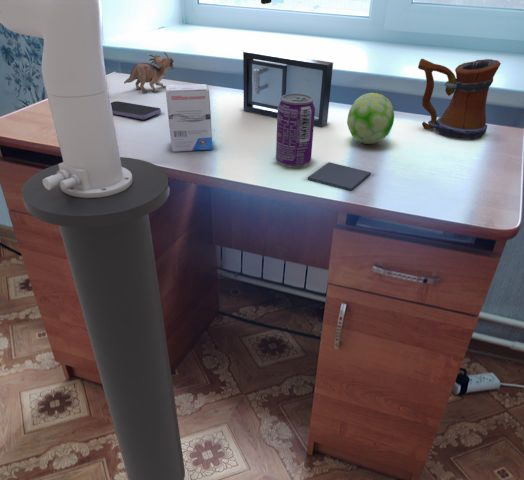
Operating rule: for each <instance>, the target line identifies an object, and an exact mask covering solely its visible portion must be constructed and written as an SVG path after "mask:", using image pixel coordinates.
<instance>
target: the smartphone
mask: <svg viewBox="0 0 524 480" xmlns="http://www.w3.org/2000/svg"><path fill="white" fill-rule="evenodd" d="M111 107H112V113H113V115H116V116H117V115H118V116H123V117H129V118H134V119H136V120H138V119H139V120H142V121H143V120H147V119H148V118H151V117H153V116H155V115H158V114H161V113H162V109H161V108H160V107H155V106H149V105H144V104H138V103H131V102H125V101H119V100H118V101H117V100H116V101H112V102H111Z"/></svg>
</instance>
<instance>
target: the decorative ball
mask: <svg viewBox="0 0 524 480" xmlns="http://www.w3.org/2000/svg"><path fill="white" fill-rule="evenodd" d="M394 122H395V111H394V107H393V104H392V102H391V101H390V99H389V98H387V97H386V96H385V95H384V94H381V93H379V92H378V93H377V92H369V93H367V92H366V93H363V94H362V95H360V96H359V97H357V98H356V99H355V101H354V102H353V103H352V105H351V106H350V108H349V111H348V114H347V119H346V124H347V128H348V130H349V132H350V135H351V137H352V138H353V139H354V140H356V141H357V142H359V143H362V144H364V145H372V144H373V145H374V144H377V143H379V142H381V141H382V140H383V139H384V138H386V137H387V136H389V134H390V132H391V131H392V128H393V126H394Z"/></svg>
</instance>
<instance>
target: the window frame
mask: <svg viewBox="0 0 524 480" xmlns="http://www.w3.org/2000/svg"><path fill="white" fill-rule="evenodd" d="M242 59H243V60H242V63H243V64H242V68H243V69H242V70H243V72H242V74H243V75H242V77H243V81H242V82H243V111H244V112H248V113H253V114H258V115H263V116H267V117H272V118H276V119H277V112H278V110H275V109H270V108H266V107H261V106H256V105H251V104H249V60H250V59H252V60H258V61H264V62H270V63H276V64H282V65H287V77H286V94H305V95H309V96H311V97H313V105H314V107H315V116H314V127H319V128H323V127H325V126H326V125H327V124H328V119H329V108H330V99H331V87H332V79H333V78H332V77H333V69H334V62H332V61H325V60H318V59H312V58H306V57H299V56H295V55H289V54H281V53H274V52H268V51H261V50H255V49H247V50H245V51H243V52H242Z"/></svg>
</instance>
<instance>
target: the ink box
mask: <svg viewBox="0 0 524 480" xmlns="http://www.w3.org/2000/svg"><path fill="white" fill-rule="evenodd" d="M165 86H166V88H165V97H166V107H167V117H168V127H169V137H170V146H171V152H173V153H175V152H176V153H177V152H192V151H211V150H213V148H214V147H213V133H212V114H211V113H212V111H211V97H210V88H209V86H208V84H206V83H196V84H166V85H165Z"/></svg>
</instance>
